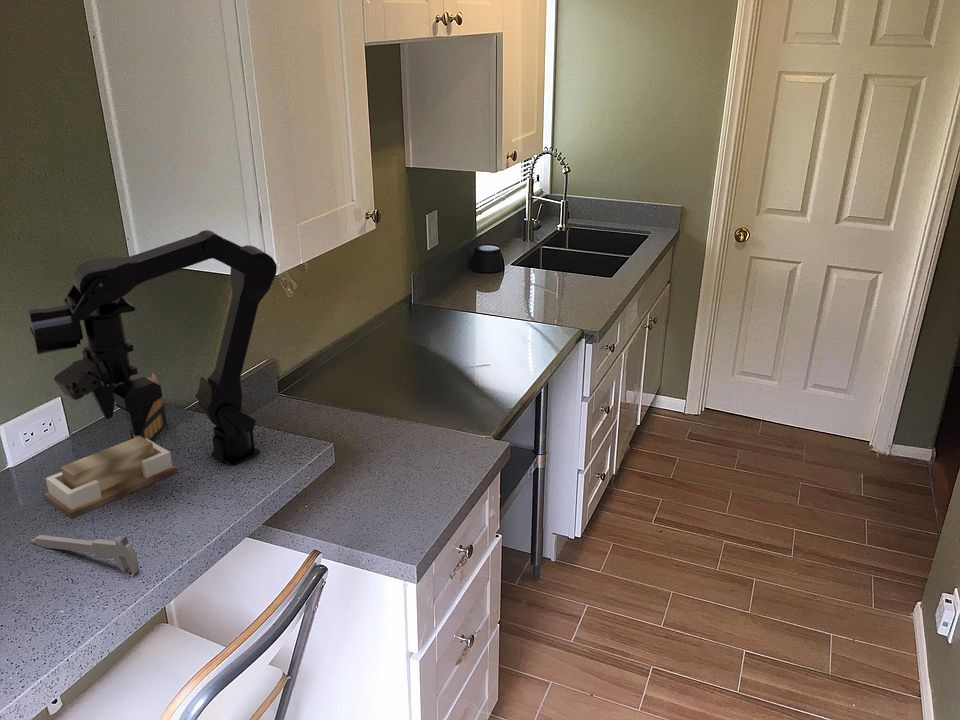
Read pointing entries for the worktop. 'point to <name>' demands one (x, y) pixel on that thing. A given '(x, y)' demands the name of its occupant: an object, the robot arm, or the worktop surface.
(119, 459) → the maple slat
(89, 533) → the worktop surface
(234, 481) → the worktop surface
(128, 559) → the caliper
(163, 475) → the walnut board
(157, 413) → the ammunition clip
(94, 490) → the end caps
